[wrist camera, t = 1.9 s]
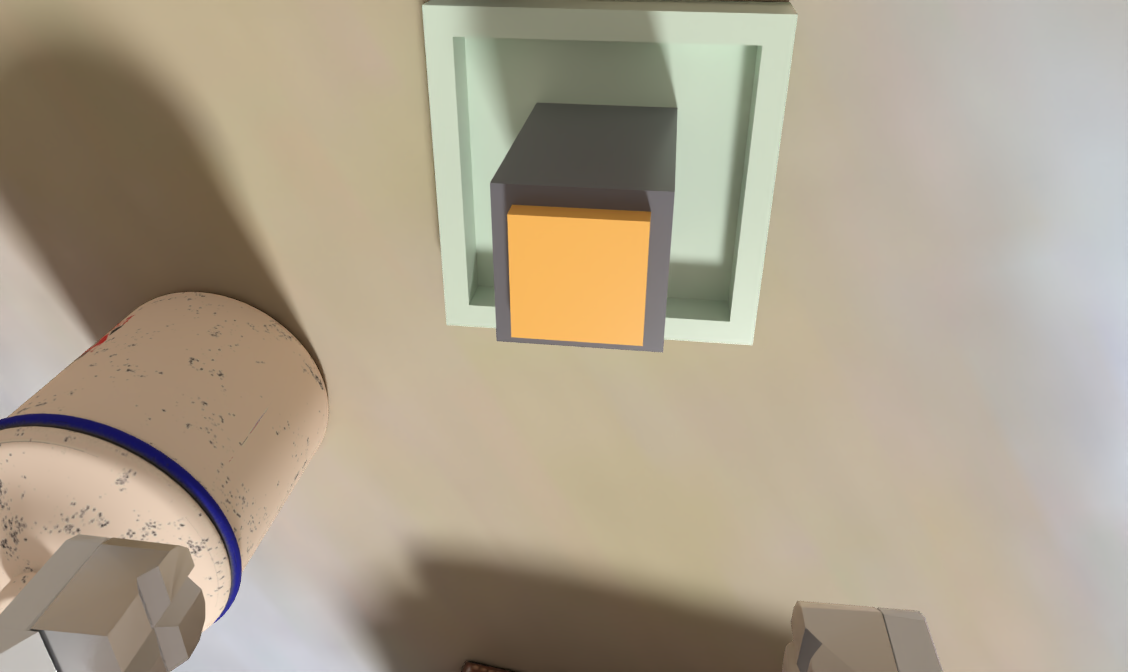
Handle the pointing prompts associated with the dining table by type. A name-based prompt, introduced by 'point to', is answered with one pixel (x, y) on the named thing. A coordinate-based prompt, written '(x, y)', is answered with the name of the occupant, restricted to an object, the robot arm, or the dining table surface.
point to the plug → (585, 227)
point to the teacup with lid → (164, 442)
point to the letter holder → (480, 668)
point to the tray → (623, 78)
